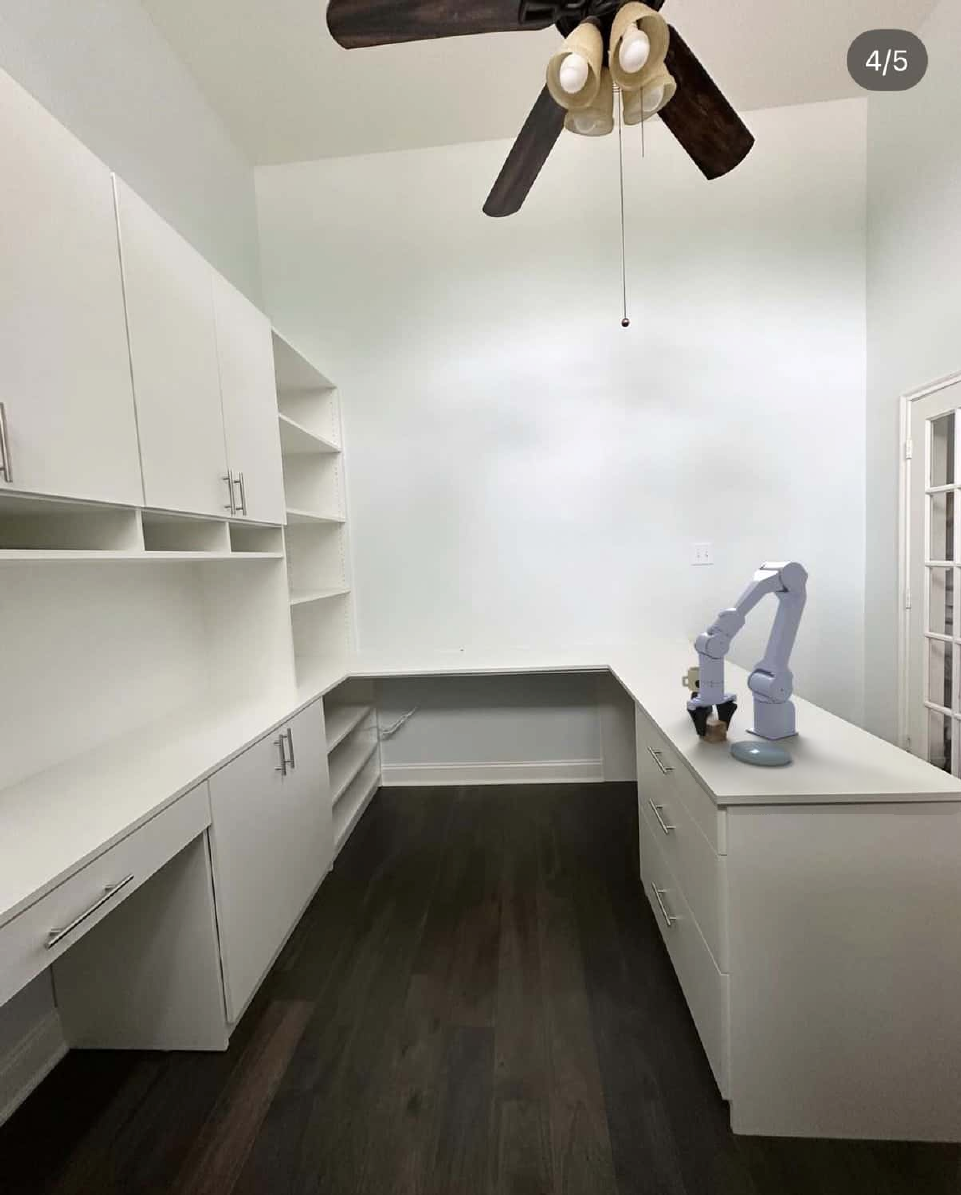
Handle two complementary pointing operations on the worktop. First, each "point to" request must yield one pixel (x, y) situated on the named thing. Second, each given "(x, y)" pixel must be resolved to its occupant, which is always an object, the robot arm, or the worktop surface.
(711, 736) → the walnut block
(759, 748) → the slate dish
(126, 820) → the worktop surface
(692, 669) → the character mug
